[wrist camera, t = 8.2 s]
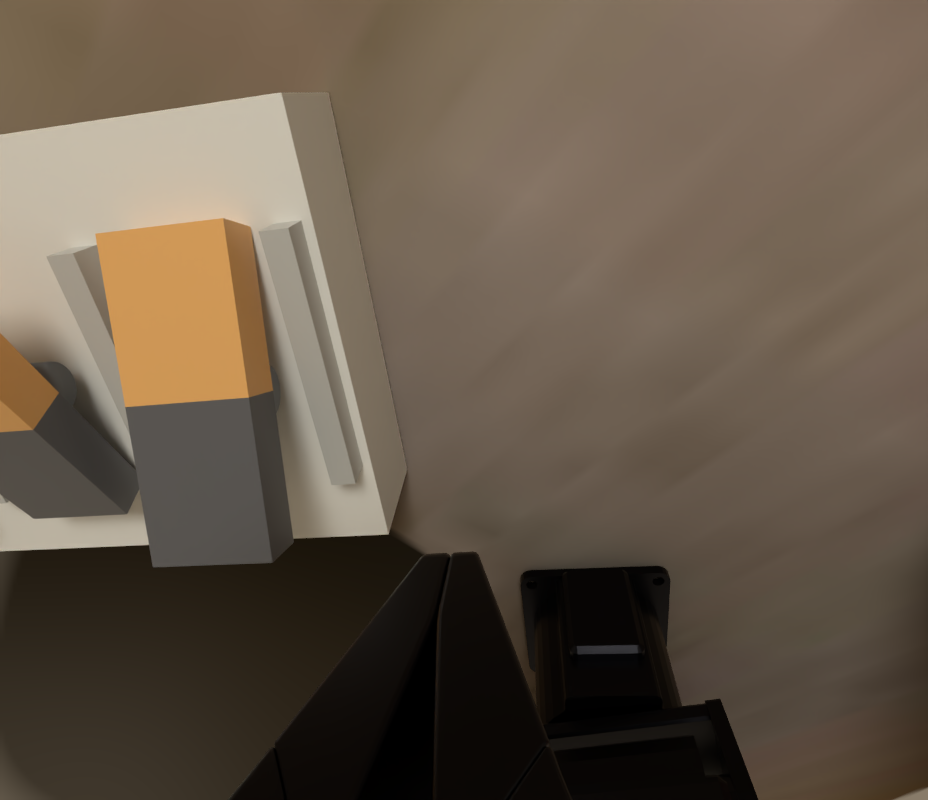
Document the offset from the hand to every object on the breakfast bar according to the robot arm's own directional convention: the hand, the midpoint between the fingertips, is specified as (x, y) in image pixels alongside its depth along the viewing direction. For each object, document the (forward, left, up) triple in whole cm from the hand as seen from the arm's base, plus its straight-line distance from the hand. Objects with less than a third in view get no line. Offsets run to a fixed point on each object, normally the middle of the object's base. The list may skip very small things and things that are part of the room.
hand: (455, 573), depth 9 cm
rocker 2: (-1, +8, -8) cm, 11 cm away
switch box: (0, +14, -13) cm, 19 cm away
